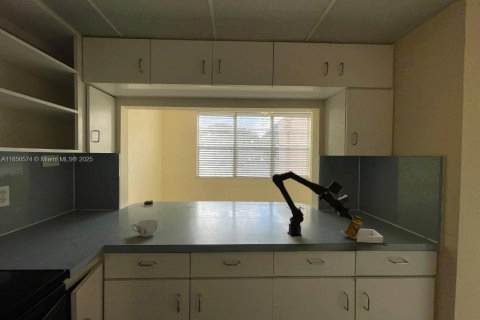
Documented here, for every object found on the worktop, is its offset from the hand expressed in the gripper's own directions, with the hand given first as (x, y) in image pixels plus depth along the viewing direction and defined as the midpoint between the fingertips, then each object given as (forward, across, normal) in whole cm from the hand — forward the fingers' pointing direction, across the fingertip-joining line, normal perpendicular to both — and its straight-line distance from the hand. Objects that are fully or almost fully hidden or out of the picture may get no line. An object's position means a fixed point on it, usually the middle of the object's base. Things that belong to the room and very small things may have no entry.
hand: (351, 218), depth 150 cm
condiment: (+5, 0, +8) cm, 10 cm away
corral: (+13, +1, +3) cm, 14 cm away
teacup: (-82, -18, +87) cm, 121 cm away
